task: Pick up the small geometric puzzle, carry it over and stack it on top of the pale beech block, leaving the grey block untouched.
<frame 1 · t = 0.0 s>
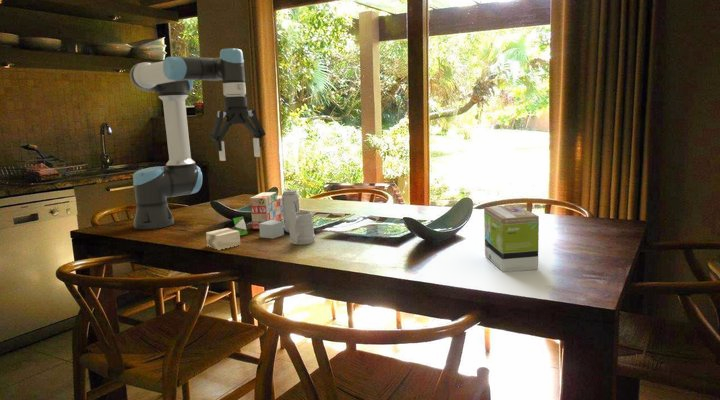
hand: (240, 158, 179), 28 cm above the table, tool pointing down, fingers open, 13 cm apart
grey block: (272, 236, 184), on the table
beech block: (223, 246, 174), on the table
stack of blocks: (270, 223, 206), on the table
tea box: (510, 263, 142), on the table
mug: (301, 244, 172), on the table
energy drink can: (292, 231, 190), on the table
geometric puzzle: (241, 235, 188), on the table
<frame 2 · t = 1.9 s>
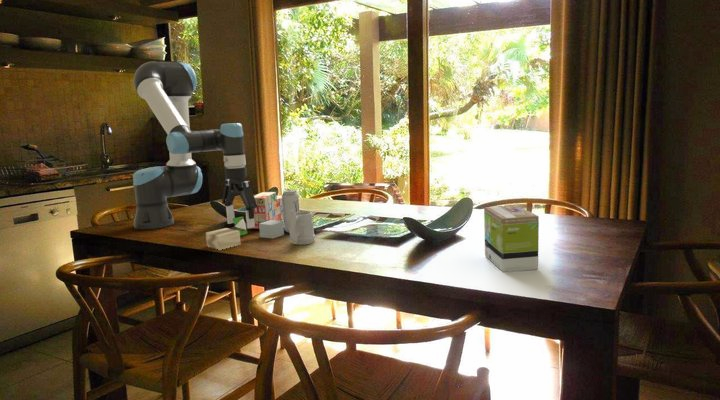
hand: (241, 225, 187), 3 cm above the table, tool pointing down, fingers open, 13 cm apart
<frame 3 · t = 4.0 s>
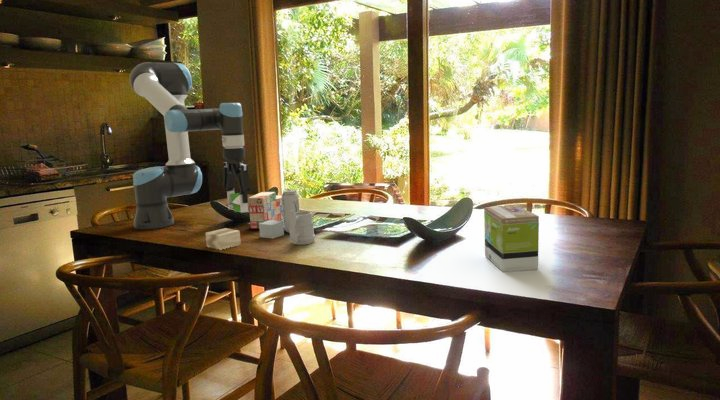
hand: (238, 210, 187), 9 cm above the table, tool pointing down, fingers closed on geometric puzzle, 8 cm apart
geometric puzzle: (238, 211, 187), point 8 cm above the table, touching gripper
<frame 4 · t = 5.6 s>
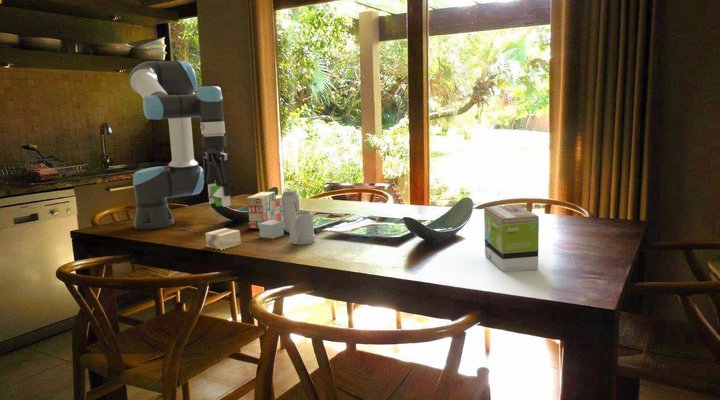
hand: (220, 204, 171), 14 cm above the table, tool pointing down, fingers closed on geometric puzzle, 8 cm apart
geometric puzzle: (220, 205, 171), point 14 cm above the table, touching gripper
when the fingers open (5 cm above the table, at t = 7.5 s): geometric puzzle stays where it is, resting on beech block.
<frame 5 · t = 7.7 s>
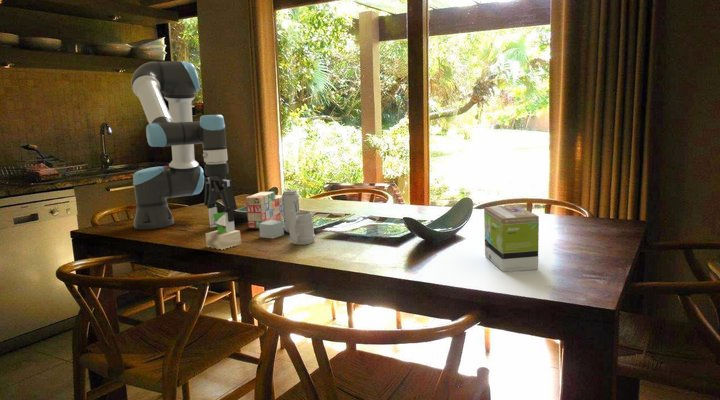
hand: (222, 228, 173), 6 cm above the table, tool pointing down, fingers open, 10 cm apart
beech block: (224, 246, 174), on the table, touching geometric puzzle
geometric puzzle: (222, 232, 173), point 4 cm above the table, touching beech block
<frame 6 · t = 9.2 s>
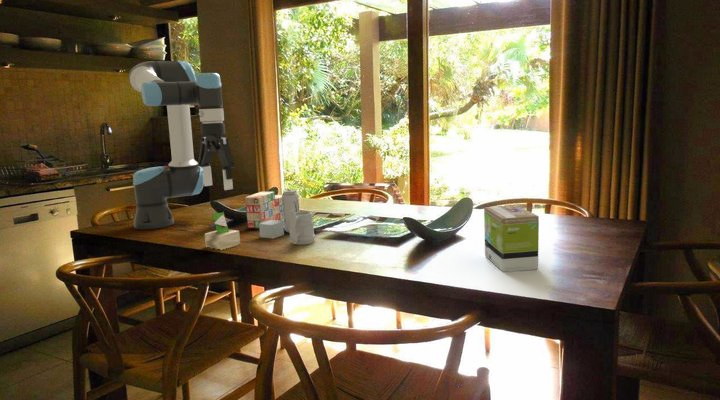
hand: (218, 187, 170), 20 cm above the table, tool pointing down, fingers open, 13 cm apart
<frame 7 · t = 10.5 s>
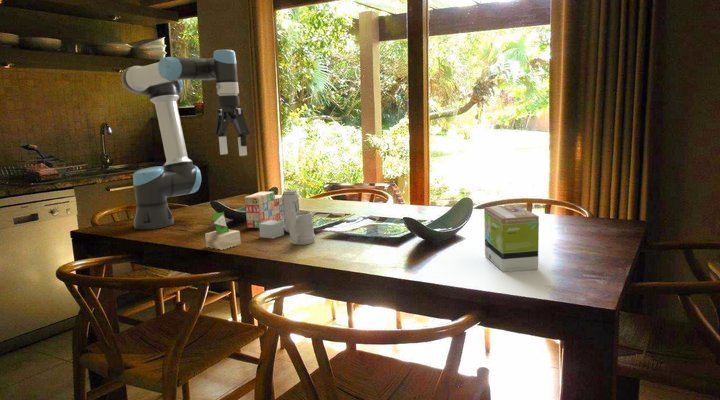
hand: (233, 155, 187), 29 cm above the table, tool pointing down, fingers open, 13 cm apart
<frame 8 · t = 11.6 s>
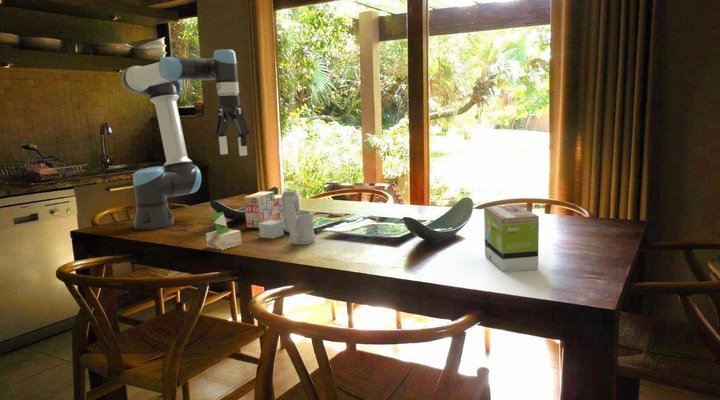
hand: (233, 154, 187), 29 cm above the table, tool pointing down, fingers open, 13 cm apart
at the end: geometric puzzle 0.8 cm from the beech block (horizontally); geometric puzzle inside the target area on the beech block (0.8 cm from its centre), point 4.8 cm above the beech block's base; the gripper is holding nothing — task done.
